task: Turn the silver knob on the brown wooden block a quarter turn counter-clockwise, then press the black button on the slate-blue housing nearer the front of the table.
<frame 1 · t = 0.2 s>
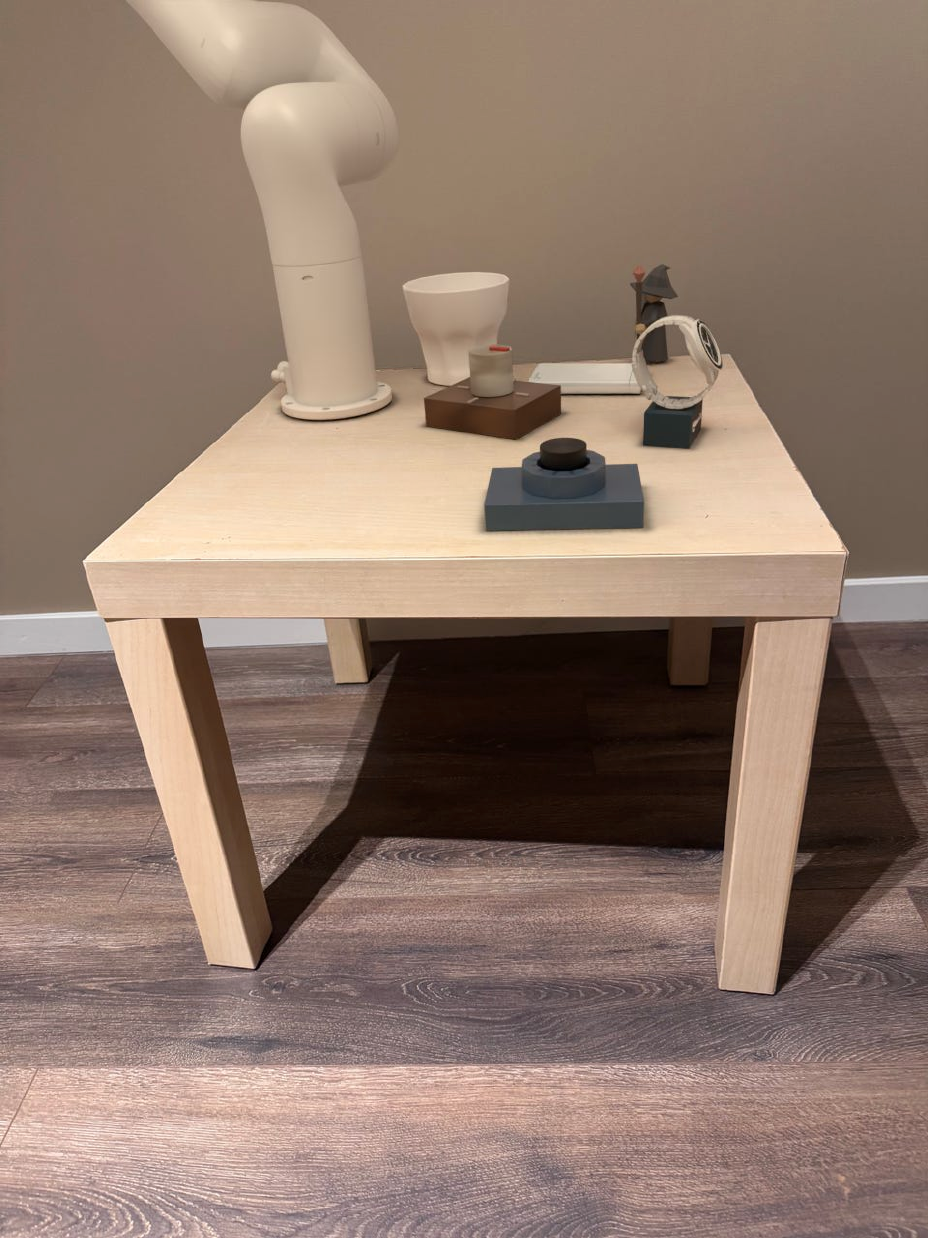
cup: (462, 378, 110), on the table
button box: (564, 508, 73), on the table
button: (563, 455, 70), point 4 cm above the table, slide at 0.1 cm
watch: (673, 439, 86), on the table
hard drive: (587, 386, 103), on the table
wizard figurine: (651, 365, 109), on the table
brown wooden block: (494, 419, 94), on the table
knob: (491, 368, 91), point 5 cm above the table, hinge at 0.0°
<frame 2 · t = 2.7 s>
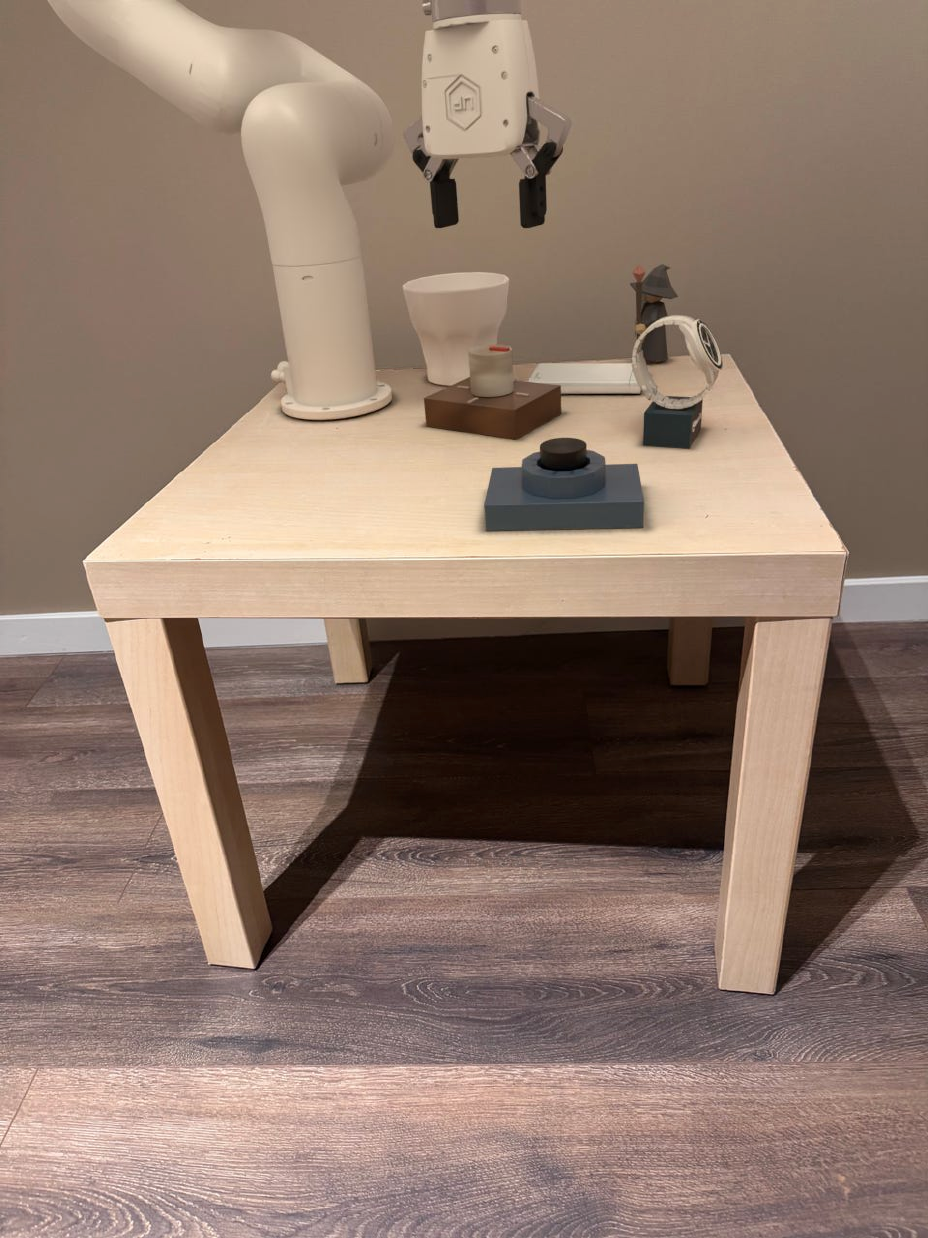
hand: (488, 226, 84), 19 cm above the table, tool pointing down, fingers open, 9 cm apart
nothing on the table moved.
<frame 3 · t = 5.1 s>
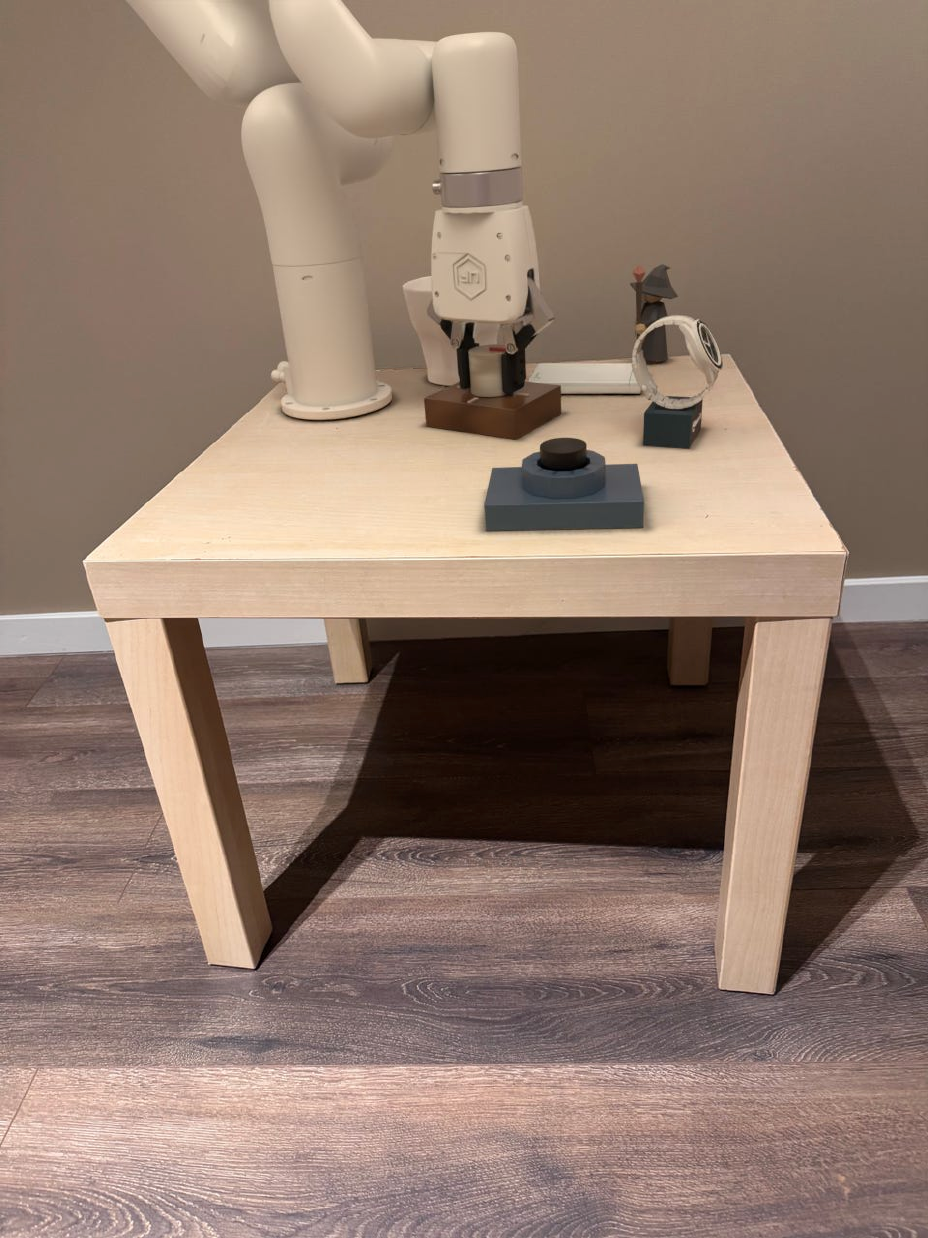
hand: (492, 386, 92), 4 cm above the table, tool pointing down, fingers closed on knob, 4 cm apart
knob: (491, 368, 91), point 5 cm above the table, hinge at 0.0°, touching gripper
everything else where it was.
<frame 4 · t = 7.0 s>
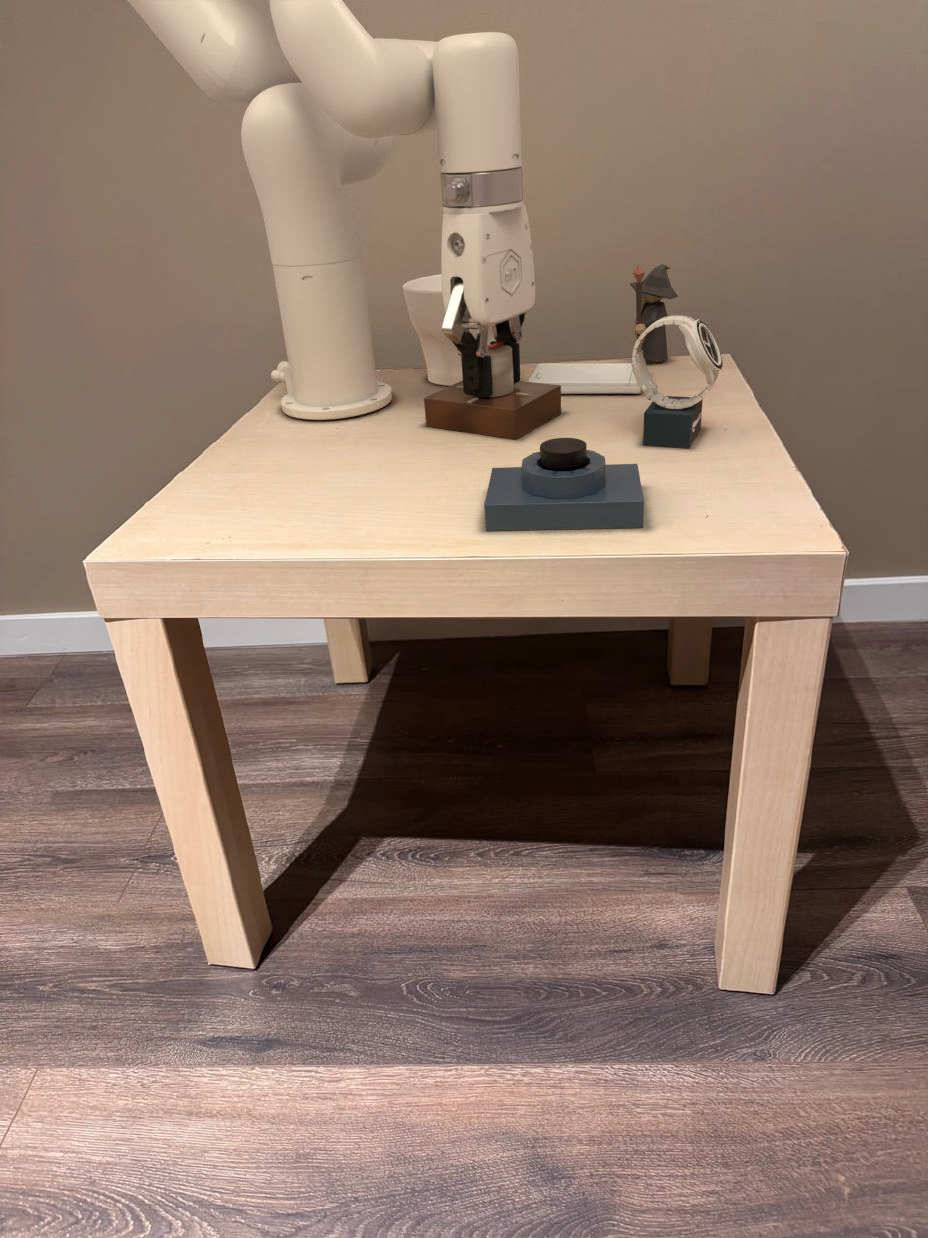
hand: (492, 386, 92), 4 cm above the table, tool pointing down, fingers closed on knob, 4 cm apart
knob: (491, 368, 91), point 5 cm above the table, hinge at 90.2°, touching gripper
everything else where it was.
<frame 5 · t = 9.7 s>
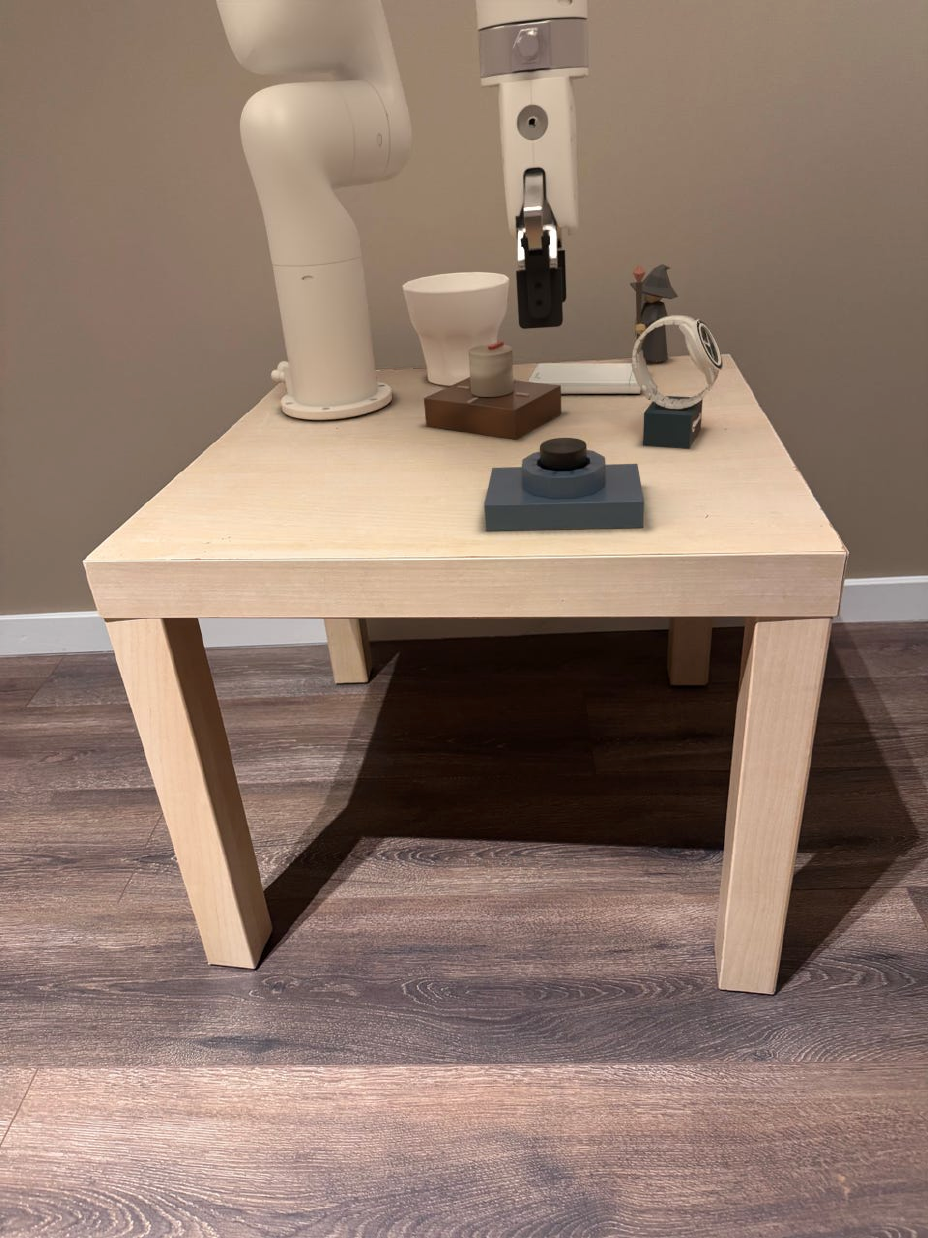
hand: (544, 314, 71), 14 cm above the table, tool pointing down, fingers open, 9 cm apart
knob: (491, 368, 91), point 5 cm above the table, hinge at 91.1°
everything else where it was.
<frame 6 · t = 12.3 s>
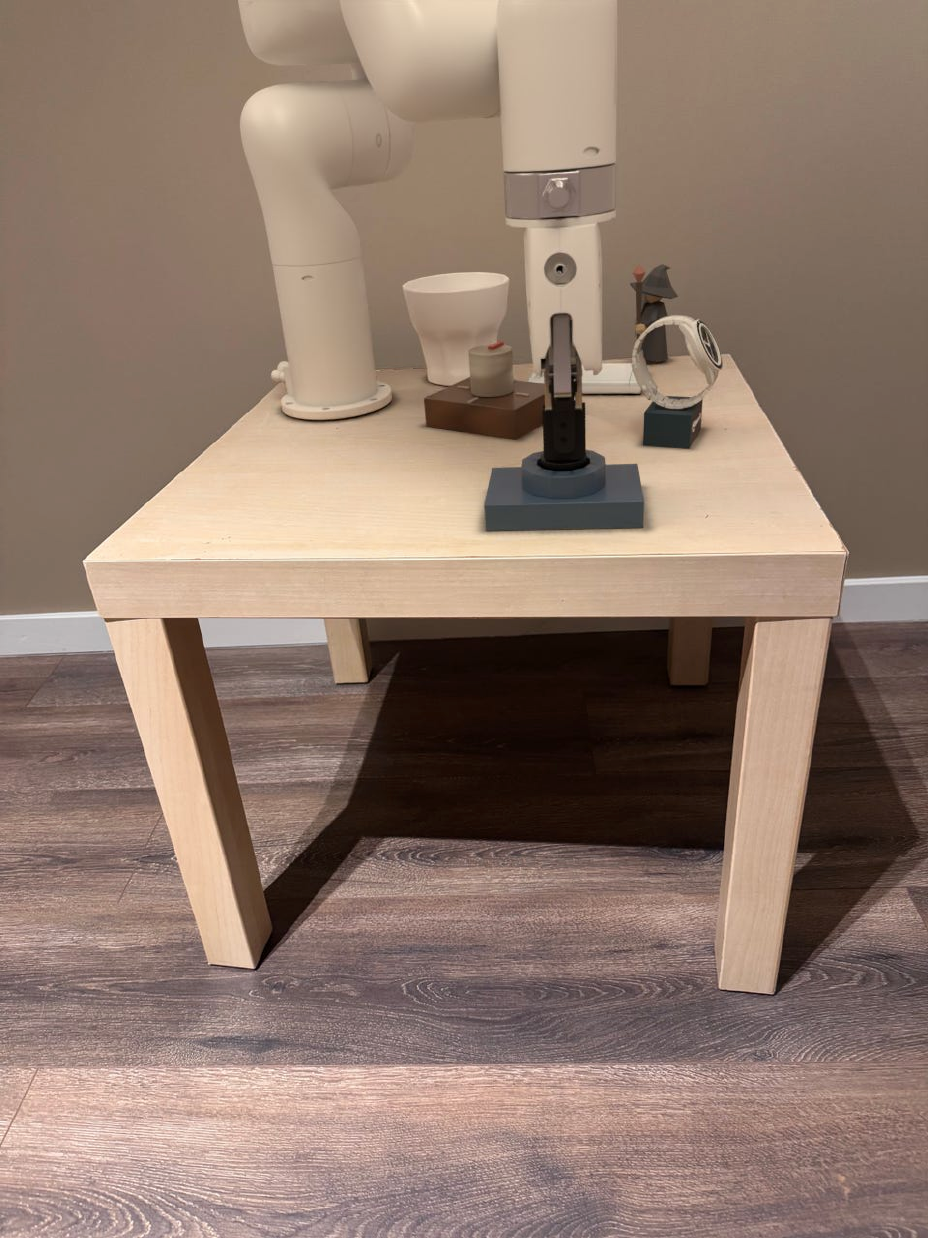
hand: (564, 456, 70), 5 cm above the table, tool pointing down, fingers closed
button: (563, 466, 71), point 4 cm above the table, slide at -0.8 cm, touching gripper
everything else where it was.
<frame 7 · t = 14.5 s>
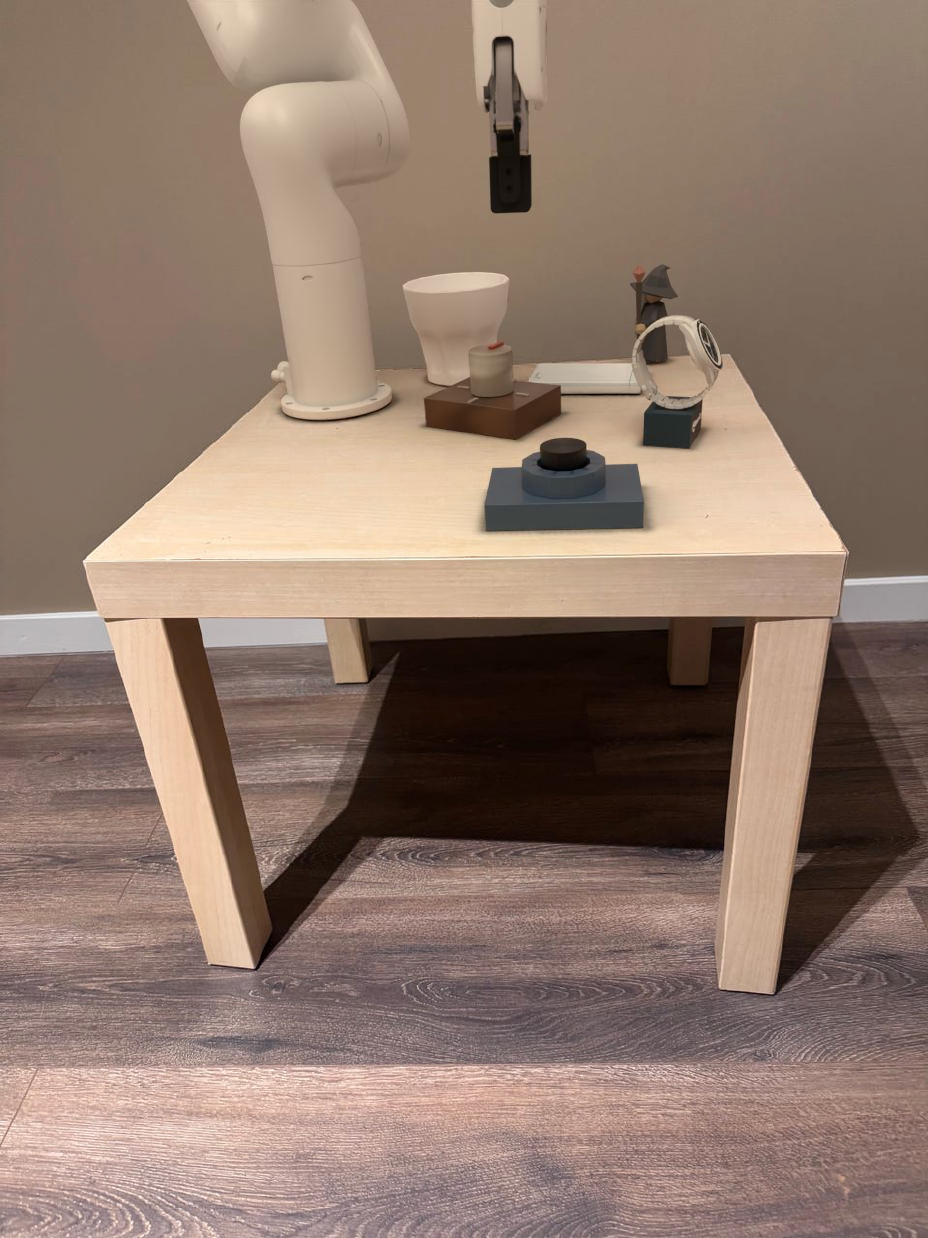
hand: (511, 210, 73), 21 cm above the table, tool pointing down, fingers closed
button: (563, 455, 70), point 4 cm above the table, slide at 0.1 cm
everything else where it was.
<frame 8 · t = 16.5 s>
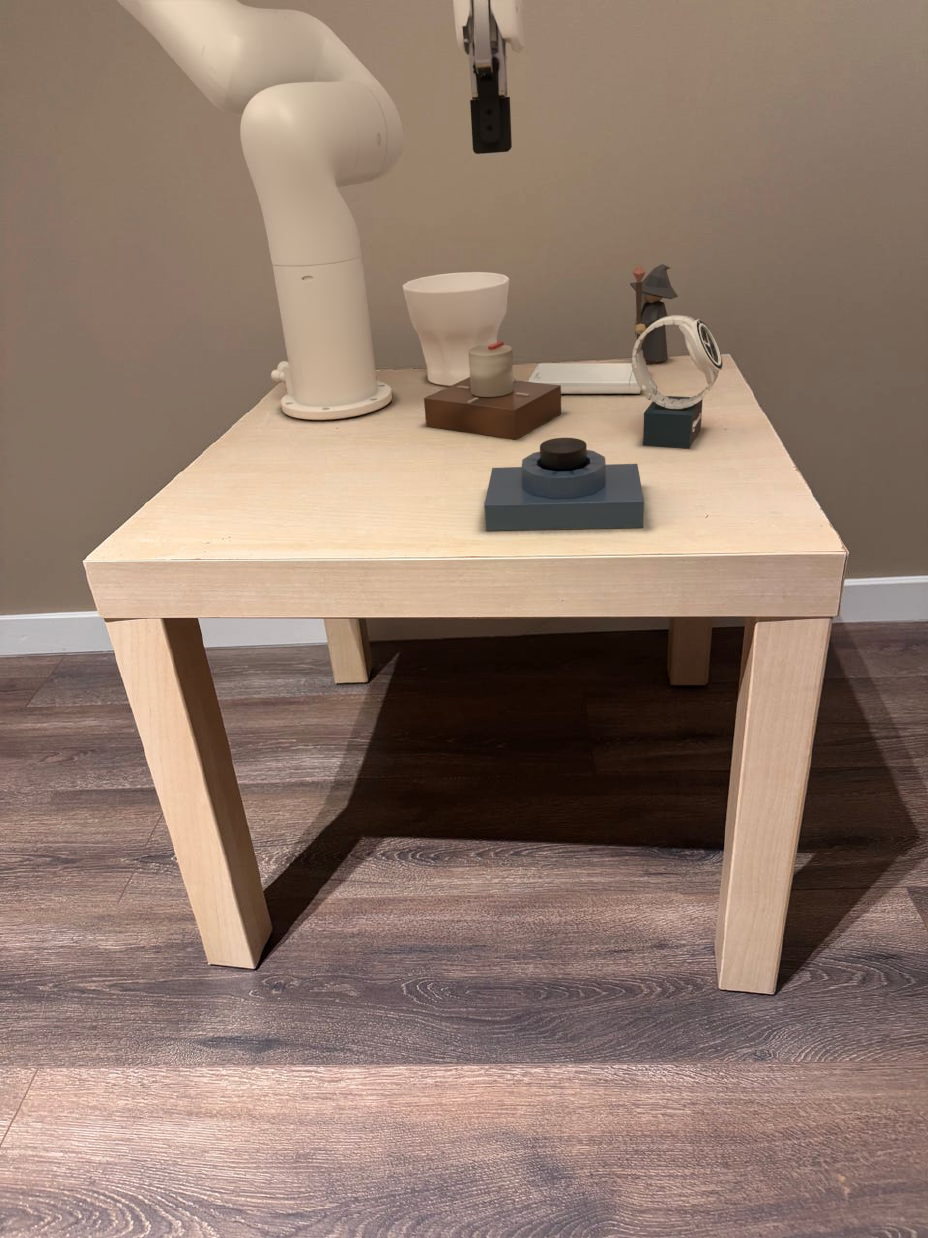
hand: (492, 151, 77), 25 cm above the table, tool pointing down, fingers closed
nothing on the table moved.
at the end: knob at +91° (first picture: +0°); button pushed in 1.1 cm at the most during the clip, back to where it started at the end; button slide at 0.1 cm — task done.
